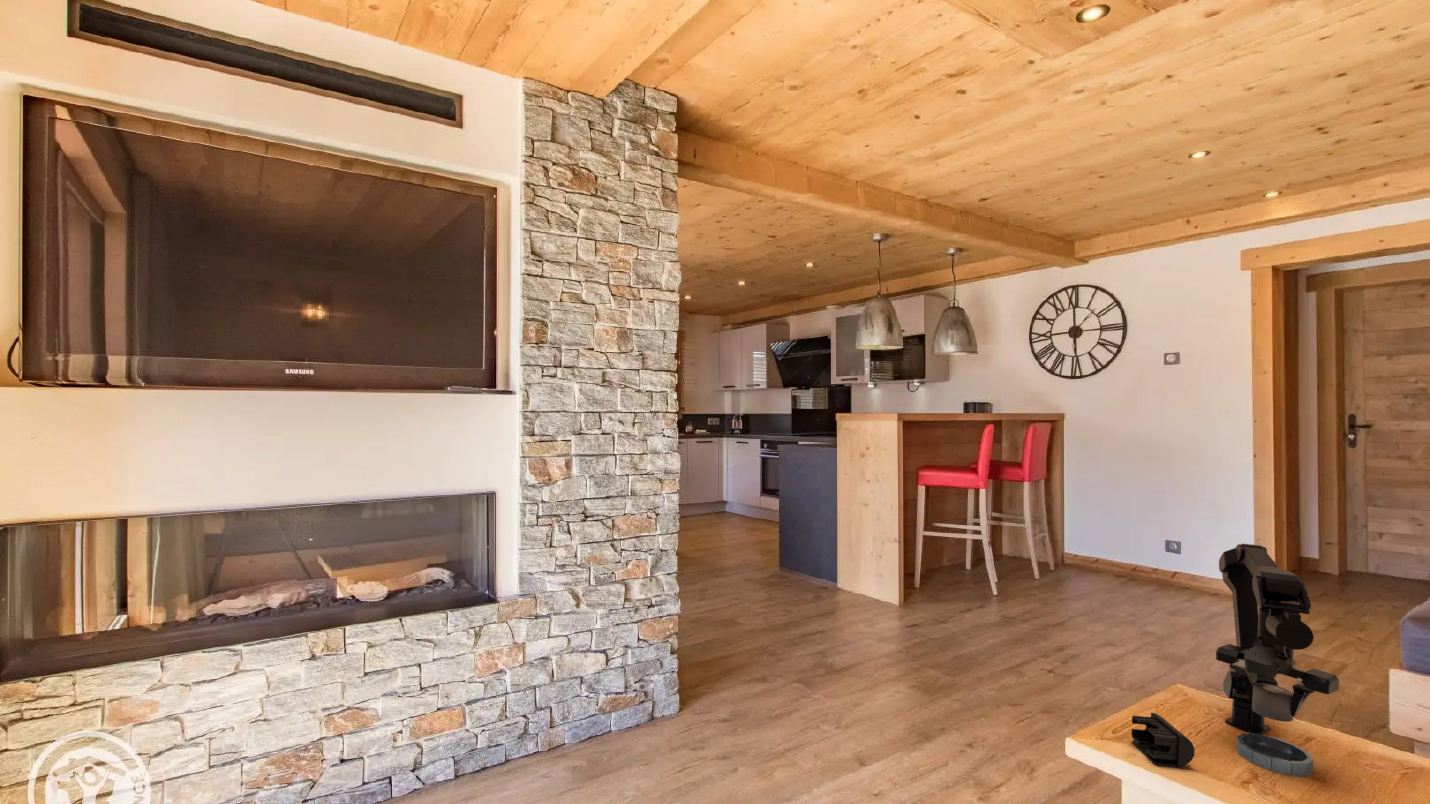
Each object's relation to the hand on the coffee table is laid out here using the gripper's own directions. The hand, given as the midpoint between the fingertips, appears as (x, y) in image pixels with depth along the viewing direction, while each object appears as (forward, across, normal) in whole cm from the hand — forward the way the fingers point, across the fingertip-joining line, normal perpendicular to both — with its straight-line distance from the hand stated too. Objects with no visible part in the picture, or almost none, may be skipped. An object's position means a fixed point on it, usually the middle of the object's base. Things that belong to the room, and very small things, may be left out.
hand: (1272, 708), depth 134 cm
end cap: (+11, -11, -20) cm, 25 cm away
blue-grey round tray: (+10, 0, 0) cm, 11 cm away
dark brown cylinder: (+1, 0, 0) cm, 1 cm away
